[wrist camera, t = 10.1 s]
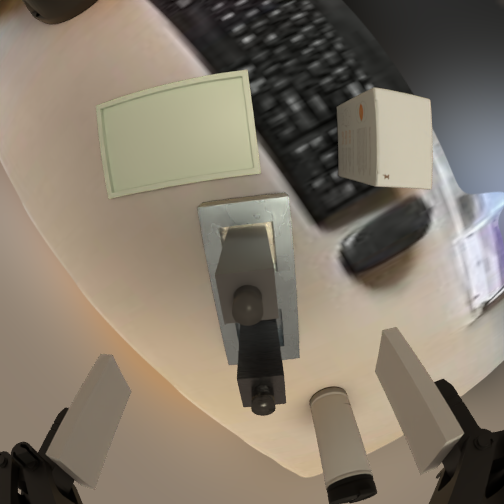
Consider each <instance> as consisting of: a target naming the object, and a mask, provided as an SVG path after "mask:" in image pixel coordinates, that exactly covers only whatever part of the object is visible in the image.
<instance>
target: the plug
mask: <svg viewBox="0 0 504 504" xmlns="http://www.w3.org/2000/svg"><path fill="white" fill-rule="evenodd" d="M215 279H216V284H217V289H218V294H219V300H220V305H221V310H222V315H223V319H224V324H229V323H239V324H241V325H245V326H250V325H254V324H256V323H258V322H259V321H260V320H269V319H278V318H279V315H278V304H277V294H276V284H275V273H274V266H273V261H272V255H271V250H270V245H269V240H268V235H267V230H266V225H265V224H262V225H253V226H245V227H237V228H229V229H228V231H227V234H226V237H225V241H224V244H223V248H222V251H221V255H220V258H219V262H218V265H217V269H216V272H215Z"/></svg>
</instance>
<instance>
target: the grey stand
mask: <svg viewBox="0 0 504 504" xmlns="http://www.w3.org/2000/svg"><path fill="white" fill-rule="evenodd" d="M197 209H198V215H199V221H200V227H201V232H202V238H203V244H204V249H205V254H206V260H207V265H208V270H209V275H210V281H211V286H212V291H213V295H214V300H215V305H216V310H217V315H218V319H219V324H220V329H221V333H222V338H223V342H224V346H225V351H226V355H227V359H228V364H229V365H237V364H238V370H237V382H238V386H239V390H240V394H241V399H242V403H243V407H251V409H252V412H253V413H255V414H257V415H261V416H264V415H269V414H271V413H273V412H274V411H275V405H276V404H285V403H286V396H285V382H284V372H283V364H282V360H287V359H295V358H300V356H299V331H298V311H297V293H296V277H295V263H294V249H293V237H292V225H291V213H290V203H289V196H288V195H287V194H286V193H285V192H284V193H275V194H266V195H257V196H249V197H241V198H233V199H225V200H218V201H211V202H204V203H202V204H201V205H200V206H199V207H198V208H197ZM262 224H265V225H266V230H267V235H268V240H269V245H270V250H271V255H272V261H273V266H274V273H275V284H276V294H277V304H278V315H279V318H278V319H269V320H260V321H259V322H258V323H256V324H254V325H250V326H245V325H241V324H239V323H229V324H224V319H223V315H222V310H221V305H220V300H219V294H218V289H217V284H216V279H215V272H216V269H217V265H218V262H219V258H220V255H221V251H222V248H223V244H224V241H225V237H226V234H227V231H228V229H229V228H237V227H245V226H253V225H262Z"/></svg>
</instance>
